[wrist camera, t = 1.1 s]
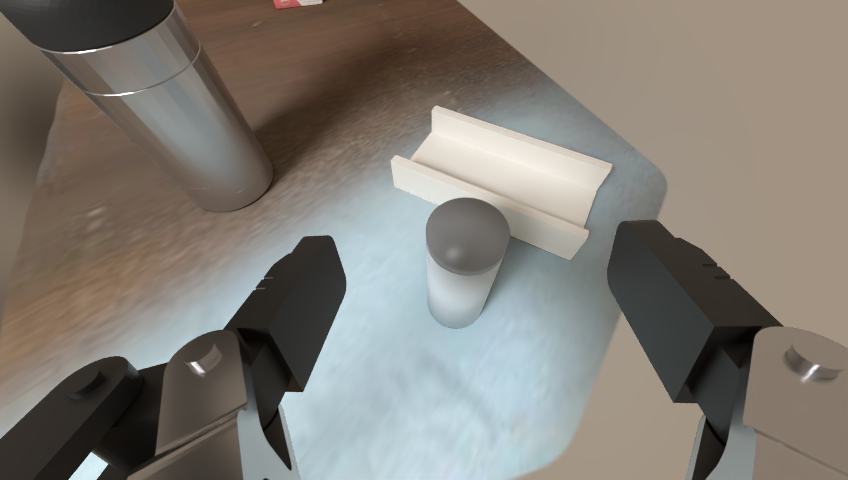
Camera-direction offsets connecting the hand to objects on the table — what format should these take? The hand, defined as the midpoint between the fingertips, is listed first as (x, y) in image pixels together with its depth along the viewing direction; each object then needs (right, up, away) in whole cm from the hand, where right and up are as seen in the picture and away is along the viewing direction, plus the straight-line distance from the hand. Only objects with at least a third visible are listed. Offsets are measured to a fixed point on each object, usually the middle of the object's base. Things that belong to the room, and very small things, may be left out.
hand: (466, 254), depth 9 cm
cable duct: (+7, +6, +27) cm, 28 cm away
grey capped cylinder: (+2, -5, +20) cm, 21 cm away
